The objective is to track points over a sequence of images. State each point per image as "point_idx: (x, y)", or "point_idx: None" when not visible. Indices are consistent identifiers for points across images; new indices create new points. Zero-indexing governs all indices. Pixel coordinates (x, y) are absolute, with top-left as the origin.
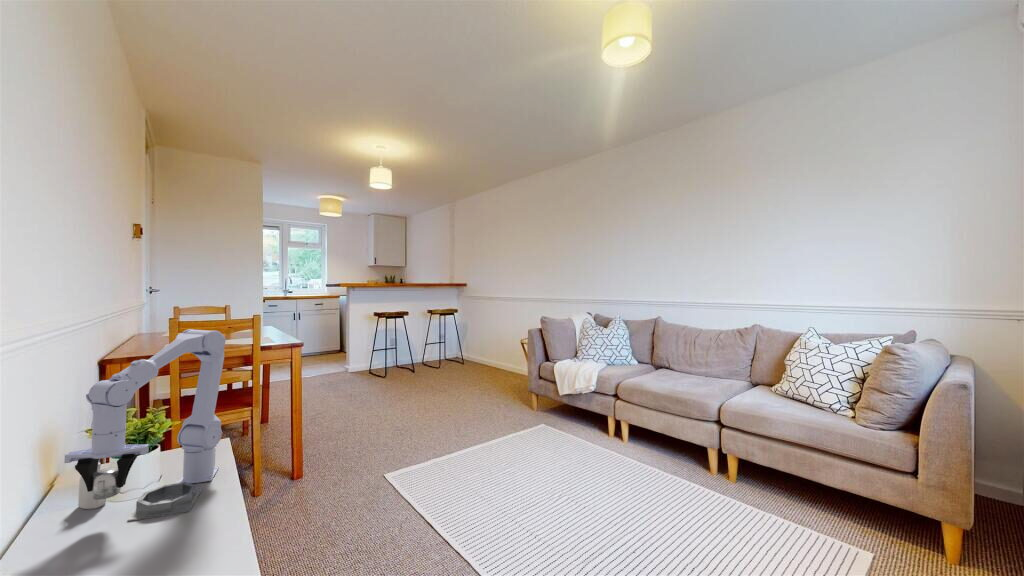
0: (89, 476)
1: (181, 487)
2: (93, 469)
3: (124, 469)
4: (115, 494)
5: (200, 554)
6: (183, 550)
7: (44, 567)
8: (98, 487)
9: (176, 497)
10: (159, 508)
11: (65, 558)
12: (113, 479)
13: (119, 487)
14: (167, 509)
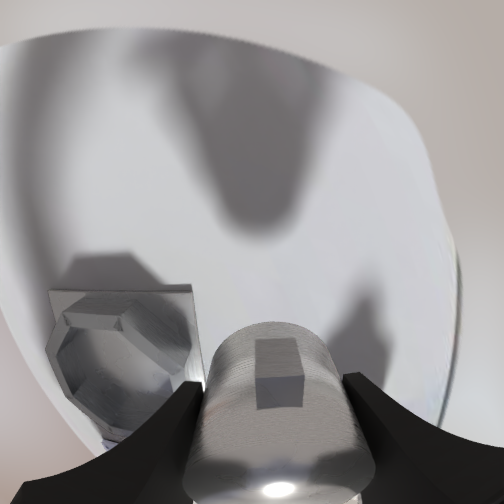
0: (393, 442)
1: (117, 420)
2: (384, 500)
3: (103, 464)
4: (215, 353)
5: (5, 76)
6: (22, 87)
7: (311, 60)
8: (288, 348)
9: (123, 392)
10: (98, 306)
11: (277, 87)
12: (207, 418)
13: (193, 382)
14: (84, 303)
